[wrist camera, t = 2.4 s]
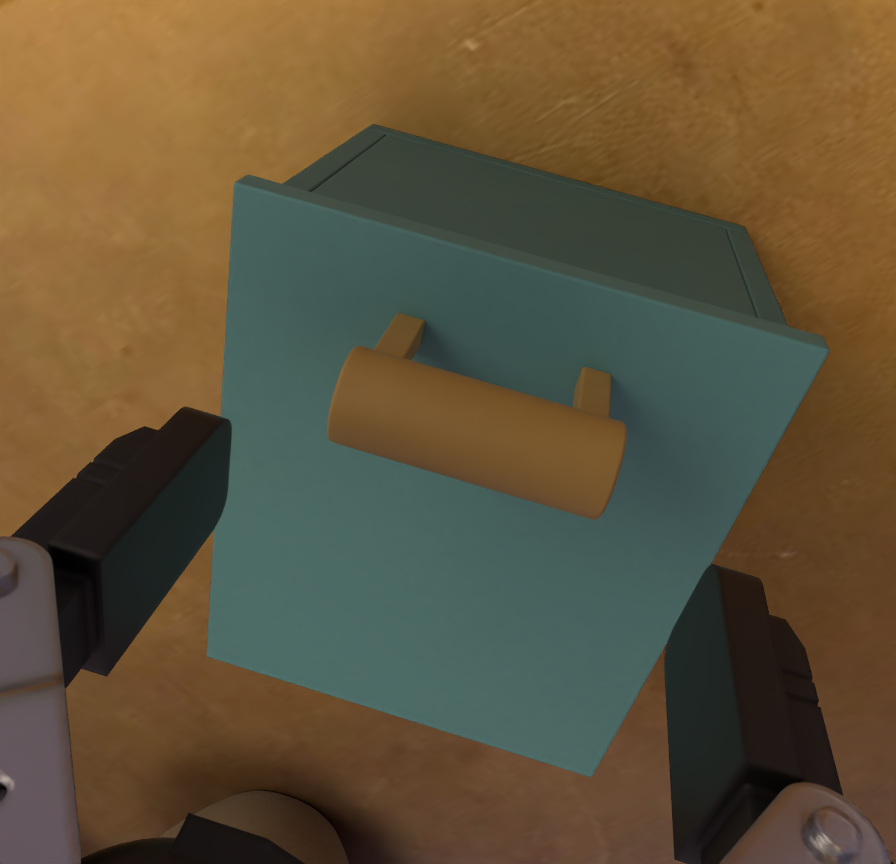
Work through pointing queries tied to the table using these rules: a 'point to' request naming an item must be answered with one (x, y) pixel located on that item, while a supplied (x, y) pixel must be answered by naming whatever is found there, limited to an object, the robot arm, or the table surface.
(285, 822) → the beige bowl
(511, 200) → the chest
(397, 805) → the table surface
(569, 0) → the table surface
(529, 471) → the lid
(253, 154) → the table surface
